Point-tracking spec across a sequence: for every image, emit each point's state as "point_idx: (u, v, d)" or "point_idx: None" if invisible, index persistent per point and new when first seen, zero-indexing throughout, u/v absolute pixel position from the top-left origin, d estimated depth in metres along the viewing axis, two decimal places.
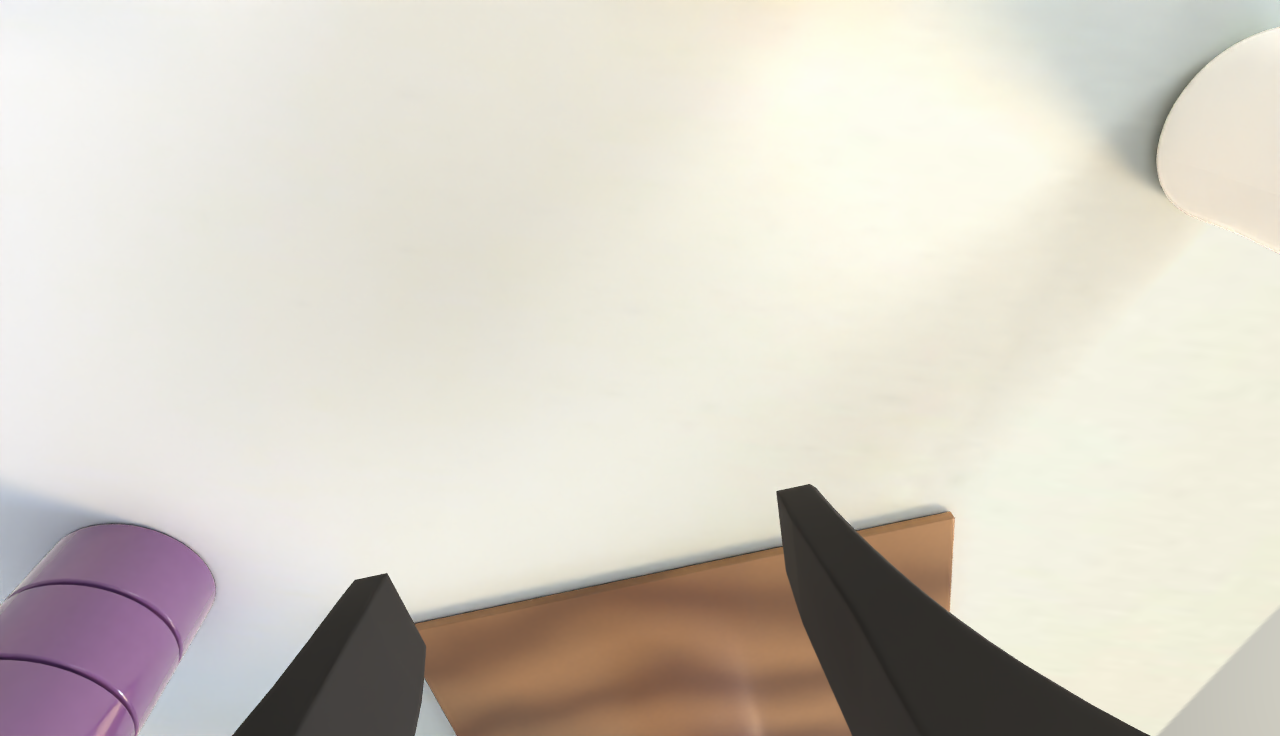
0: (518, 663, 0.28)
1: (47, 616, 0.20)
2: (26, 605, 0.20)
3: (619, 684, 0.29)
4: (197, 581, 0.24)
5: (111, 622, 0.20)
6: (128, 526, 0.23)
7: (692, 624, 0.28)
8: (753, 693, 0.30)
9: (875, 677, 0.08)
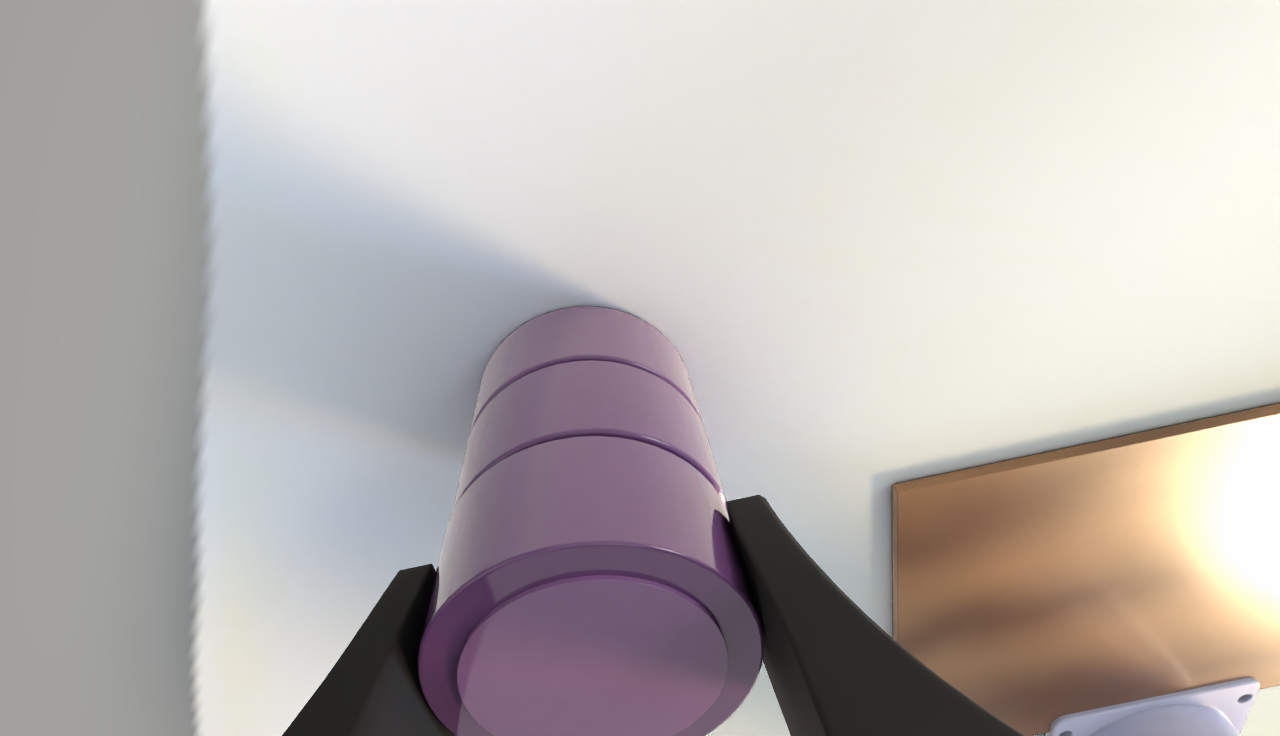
0: (1020, 541, 0.21)
1: (614, 392, 0.13)
2: (571, 379, 0.13)
3: (1124, 575, 0.22)
4: None
5: (681, 412, 0.14)
6: (613, 309, 0.16)
7: (1257, 488, 0.21)
8: (1273, 592, 0.23)
9: (802, 692, 0.08)
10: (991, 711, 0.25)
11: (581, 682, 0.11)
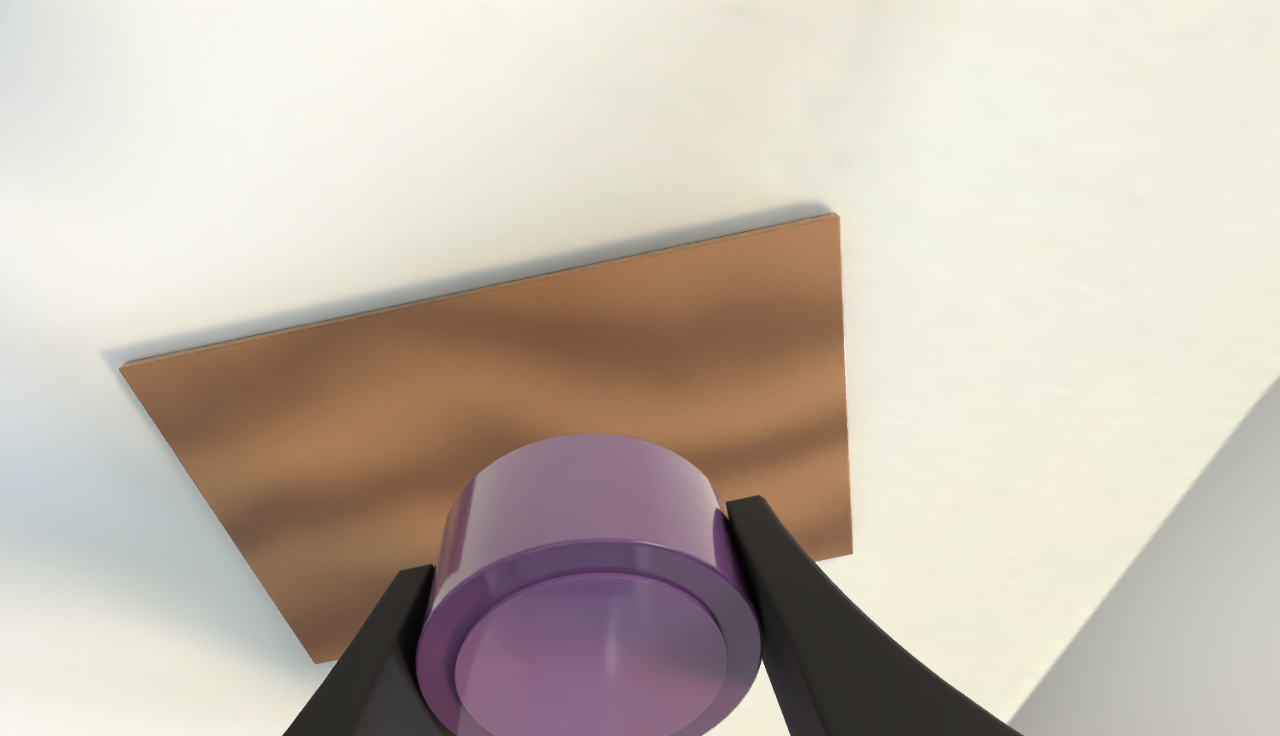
0: (288, 424, 0.22)
1: None
2: None
3: (429, 464, 0.23)
4: None
5: None
6: None
7: (510, 373, 0.22)
8: None
9: (802, 692, 0.08)
10: None
11: (580, 681, 0.11)
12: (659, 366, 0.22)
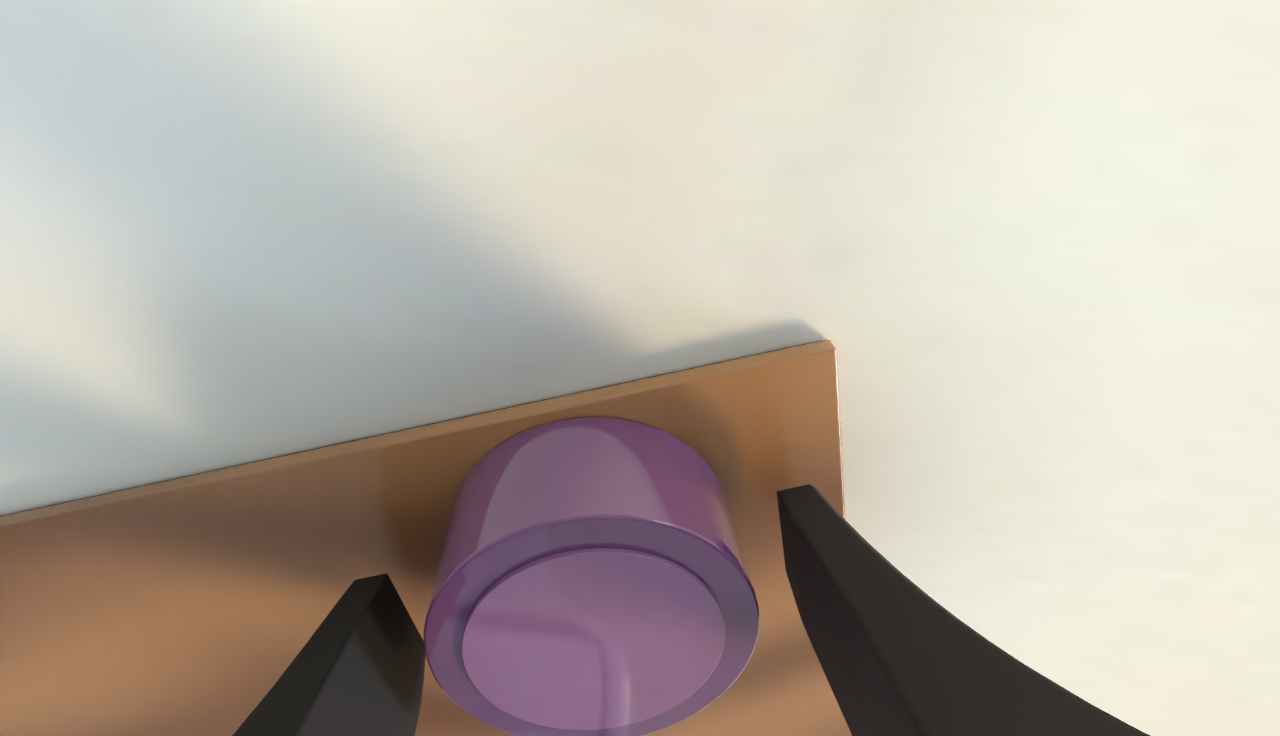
0: None
1: None
2: None
3: (195, 713, 0.15)
4: None
5: None
6: None
7: (302, 591, 0.13)
8: (482, 728, 0.16)
9: (875, 677, 0.08)
10: None
11: (582, 655, 0.11)
12: None
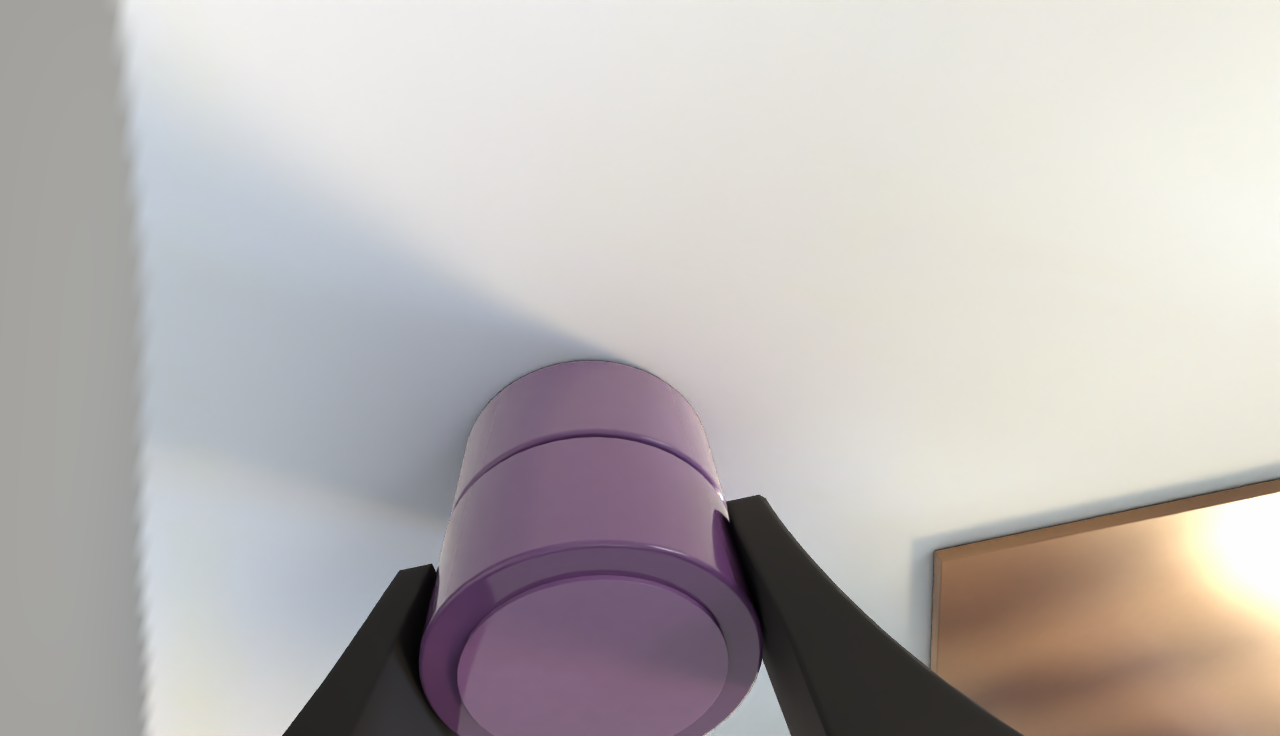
0: (1076, 610, 0.19)
1: (622, 483, 0.11)
2: (569, 465, 0.11)
3: (1189, 644, 0.20)
4: None
5: (703, 501, 0.11)
6: (620, 364, 0.14)
7: None
8: None
9: (803, 692, 0.08)
10: None
11: None
12: None
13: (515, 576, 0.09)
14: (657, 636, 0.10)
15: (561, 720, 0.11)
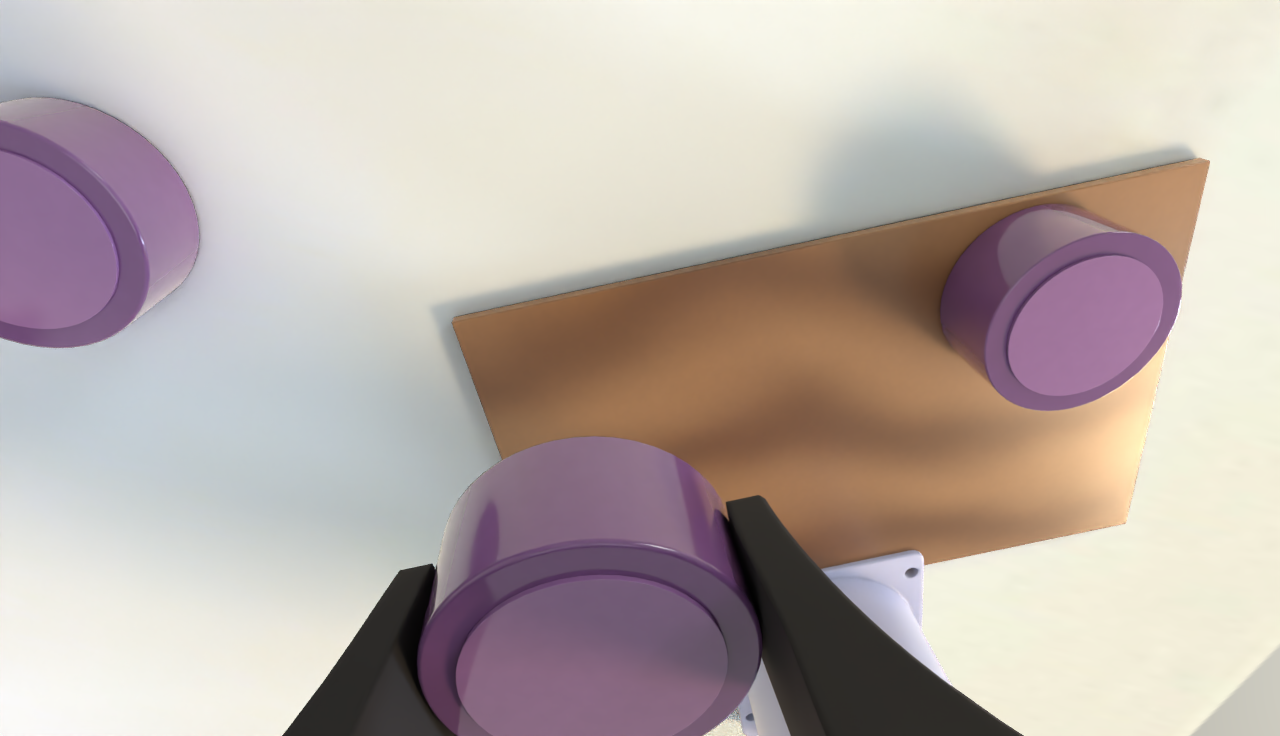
0: (606, 383, 0.21)
1: (621, 482, 0.11)
2: (568, 465, 0.11)
3: (734, 427, 0.22)
4: (172, 196, 0.17)
5: (702, 501, 0.11)
6: (72, 102, 0.16)
7: (840, 329, 0.21)
8: (902, 452, 0.23)
9: (802, 692, 0.08)
10: None
11: (1072, 336, 0.18)
12: None
13: (514, 576, 0.09)
14: (656, 635, 0.10)
15: (560, 720, 0.11)
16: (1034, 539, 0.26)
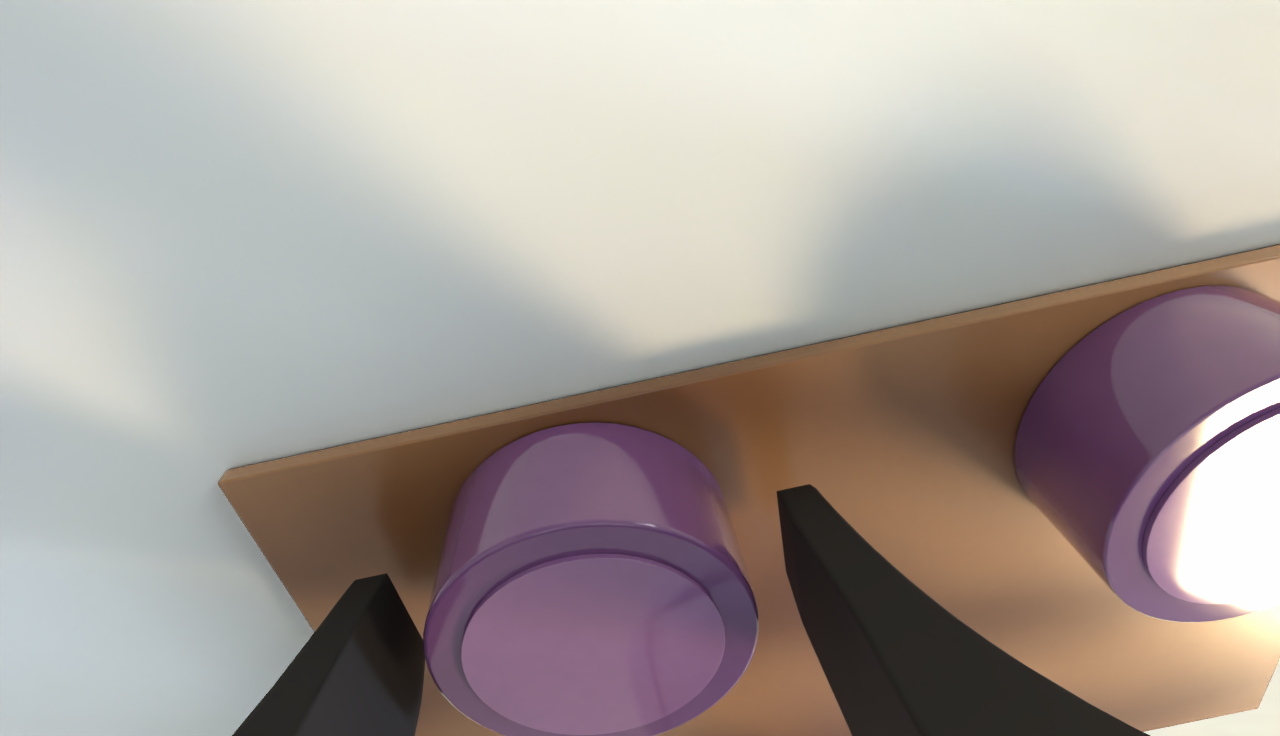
0: None
1: (621, 465, 0.11)
2: (569, 449, 0.11)
3: None
4: None
5: (700, 485, 0.12)
6: None
7: (855, 477, 0.13)
8: None
9: (875, 677, 0.08)
10: None
11: (1255, 517, 0.11)
12: None
13: (517, 555, 0.10)
14: (655, 614, 0.11)
15: (562, 697, 0.11)
16: None
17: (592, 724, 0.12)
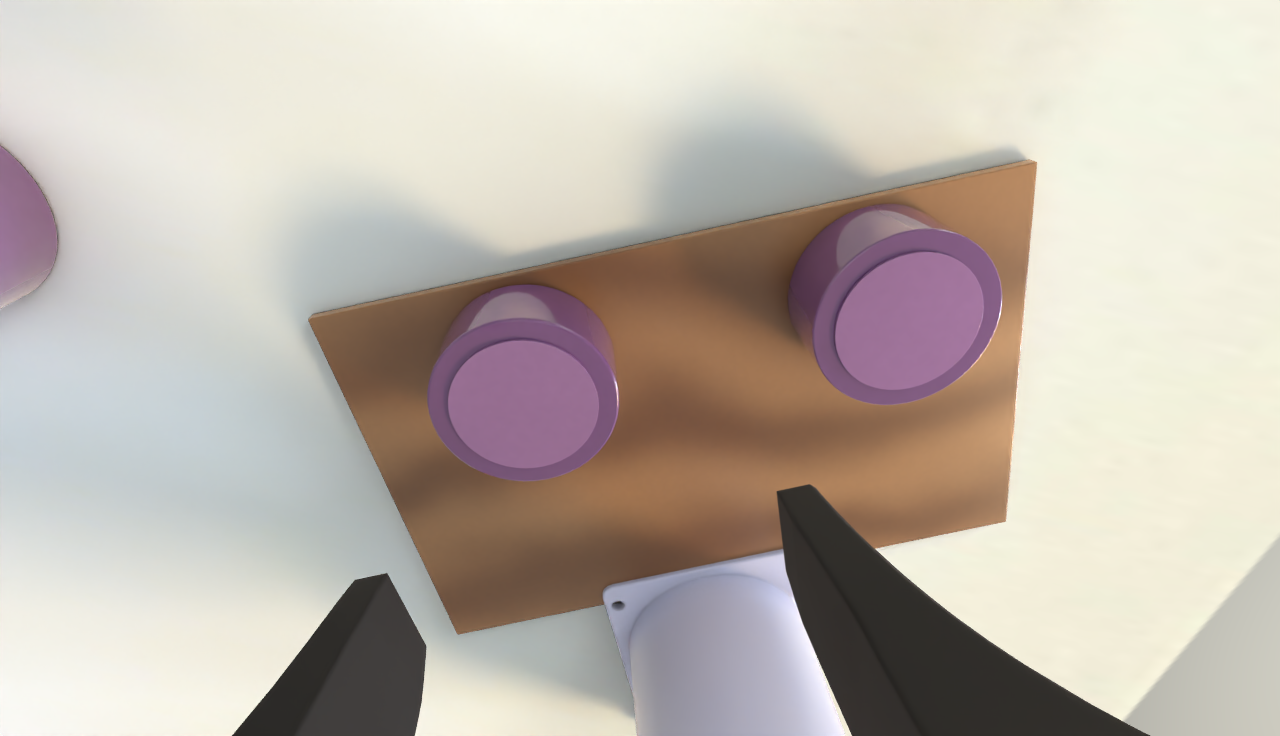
0: None
1: (539, 301, 0.19)
2: (511, 294, 0.19)
3: None
4: (21, 196, 0.18)
5: (588, 318, 0.20)
6: None
7: (691, 326, 0.21)
8: (769, 448, 0.24)
9: (875, 677, 0.08)
10: (530, 577, 0.26)
11: (898, 331, 0.19)
12: None
13: (478, 338, 0.18)
14: (557, 382, 0.19)
15: (507, 440, 0.20)
16: (914, 537, 0.26)
17: (525, 459, 0.20)
